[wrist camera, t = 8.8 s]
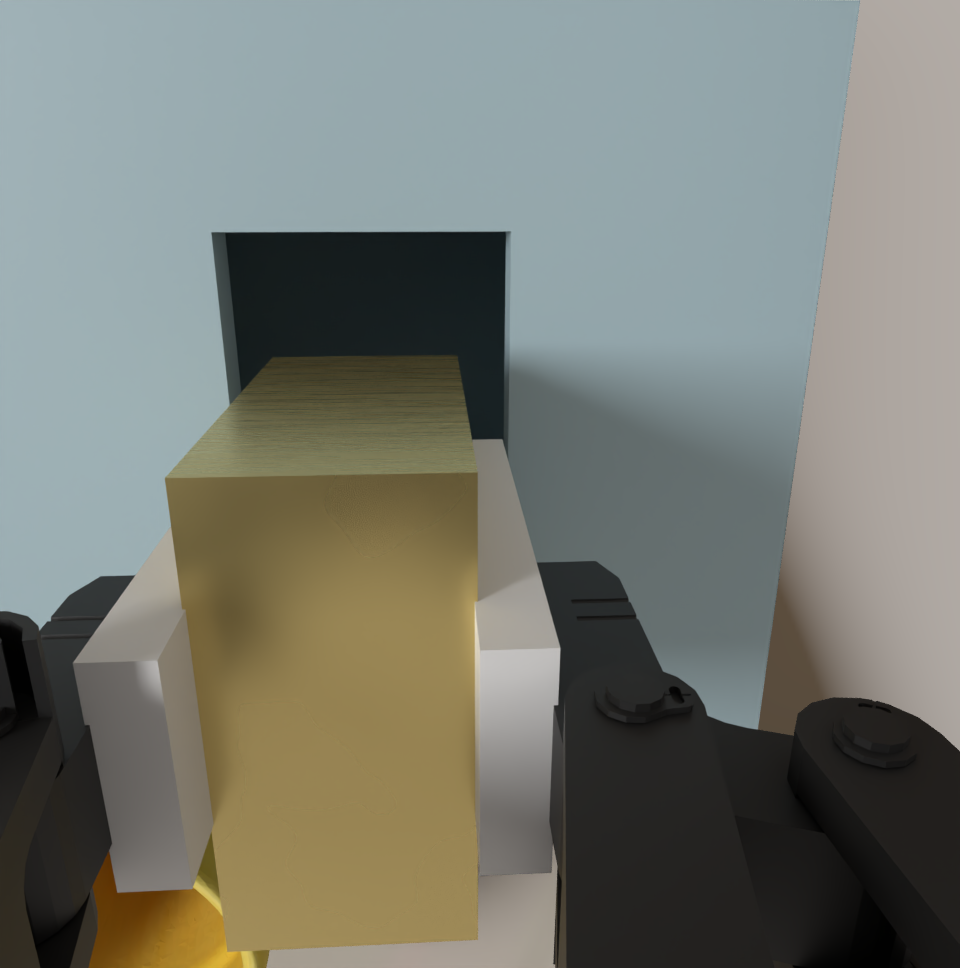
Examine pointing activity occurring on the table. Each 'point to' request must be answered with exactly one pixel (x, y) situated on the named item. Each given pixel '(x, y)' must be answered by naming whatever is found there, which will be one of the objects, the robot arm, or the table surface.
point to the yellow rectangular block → (336, 650)
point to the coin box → (428, 266)
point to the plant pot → (165, 925)
